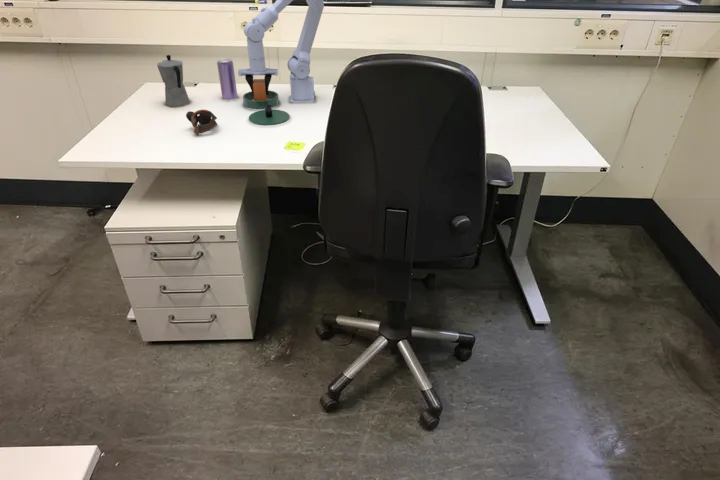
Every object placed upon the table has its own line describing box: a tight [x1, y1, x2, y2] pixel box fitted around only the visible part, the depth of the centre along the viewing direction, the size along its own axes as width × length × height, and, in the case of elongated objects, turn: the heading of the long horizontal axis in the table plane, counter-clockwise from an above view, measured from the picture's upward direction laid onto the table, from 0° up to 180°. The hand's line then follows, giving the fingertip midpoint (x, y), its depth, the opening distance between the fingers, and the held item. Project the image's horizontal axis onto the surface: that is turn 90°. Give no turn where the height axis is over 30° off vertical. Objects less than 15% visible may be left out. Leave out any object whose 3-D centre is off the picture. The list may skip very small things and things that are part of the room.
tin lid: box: [248, 105, 290, 126], centre depth 179 cm, size 14×14×5 cm
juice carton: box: [253, 78, 269, 101], centre depth 191 cm, size 4×6×8 cm
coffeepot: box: [156, 54, 190, 108], centre depth 188 cm, size 15×9×18 cm, turn 36°
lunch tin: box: [242, 89, 280, 110], centre depth 192 cm, size 13×13×4 cm
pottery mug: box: [185, 109, 219, 136], centre depth 170 cm, size 12×10×8 cm
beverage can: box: [216, 57, 238, 100], centre depth 195 cm, size 6×6×15 cm
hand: (260, 94), depth 191 cm, fingers closed on juice carton, 4 cm apart
